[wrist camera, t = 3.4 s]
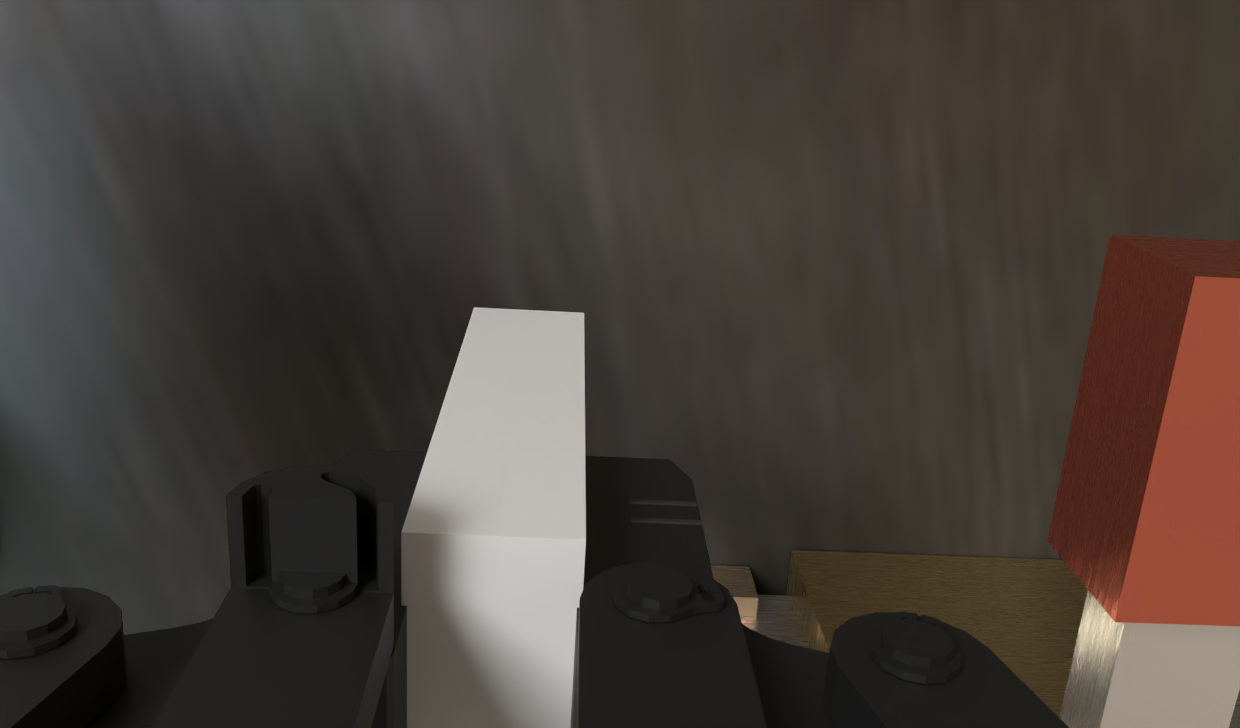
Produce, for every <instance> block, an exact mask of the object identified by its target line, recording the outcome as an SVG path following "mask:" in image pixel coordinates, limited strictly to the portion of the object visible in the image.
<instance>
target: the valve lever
mask: <svg viewBox="0 0 1240 728" xmlns="http://www.w3.org/2000/svg"><path fill="white" fill-rule="evenodd" d="M1048 542H1049V543H1050V544H1051V546H1052V547H1053V548H1054V549H1055V550H1056V552H1057V553H1058V554H1059V555H1060V556H1061V558H1062V559H1063V560H1064V561H1065V563H1066V564H1067V565H1068V566H1069V567H1070V569H1071V570H1072V571H1073V572H1074V573H1075V575H1076V576H1077V577H1078V578H1079V579H1080V581H1081V582H1082V583H1083V584H1084V585H1085V587H1086V588H1087V589H1088V591H1087V596H1086V600H1085V605H1084V609H1083V614H1082V618H1081V623H1080V627H1079V632H1078V636H1077V641H1076V645H1075V650H1074V654H1073V659H1072V663H1071V668H1070V672H1069V677H1068V682H1067V686H1066V691H1065V695H1064V700H1063V704H1062V709H1061V713H1060V719H1061V720H1062V721H1063V722H1064V723H1065V724H1066V725H1067V726H1068V727H1069V728H1229V725H1230V722H1231V718H1232V715H1233V711H1234V708H1235V704H1236V700H1237V697H1238V693H1239V690H1240V241H1222V240H1204V239H1185V238H1166V237H1147V236H1128V235H1110V239H1109V244H1108V248H1107V253H1106V258H1105V263H1104V268H1103V273H1102V278H1101V283H1100V287H1099V292H1098V297H1097V302H1096V307H1095V312H1094V317H1093V322H1092V327H1091V331H1090V336H1089V341H1088V346H1087V351H1086V356H1085V361H1084V366H1083V371H1082V375H1081V380H1080V385H1079V390H1078V395H1077V400H1076V405H1075V410H1074V415H1073V419H1072V424H1071V429H1070V434H1069V439H1068V444H1067V449H1066V454H1065V458H1064V463H1063V468H1062V473H1061V478H1060V483H1059V488H1058V493H1057V498H1056V502H1055V507H1054V512H1053V517H1052V522H1051V527H1050V532H1049V537H1048Z"/></svg>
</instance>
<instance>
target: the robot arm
mask: <svg viewBox="0 0 1240 728" xmlns="http://www.w3.org/2000/svg"><path fill="white" fill-rule="evenodd" d="M226 503H227V520H228V538H229V555H230V573H231V589H230V590H229V592H228V594H227V596H226V597H225V599H224V601H223V603H222V605H221V606H220V608H219V610H218V612H217V613H216V615H215V617H214V618H213V619H210V620H207V621H204V622H201V623H196V624H191V625H187V626H182V627H177V628H171V629H164V630H157V631H150V632H143V633H136V634H129V635H124V633H123V623H122V612H121V609H120V608H119V607H118V606H117V605H116V604H115V603H114V602H113V601H112V600H111V599H110V598H109V597H108V596H106V595H103V594H100V593H96V592H93V591H90V590H87V589H84V588H69V587H58V586H37V588H36V589H32V587H29V588H23V589H17V590H14V591H11V592H9V593H8V594H5V595H1V596H0V728H1069V727H1068V726H1067V725H1066V724H1065V723H1064V722H1063V721H1062V720H1061V719H1060V718H1059V717H1058V716H1057V715H1056V714H1055V713H1054V712H1053V711H1052V710H1051V709H1050V708H1049V707H1048V706H1047V705H1046V704H1045V703H1044V702H1043V701H1042V700H1041V699H1040V698H1039V697H1038V696H1037V695H1036V694H1035V693H1034V692H1033V691H1032V690H1031V689H1030V688H1029V687H1028V686H1027V685H1026V684H1025V683H1024V682H1023V681H1022V680H1021V679H1020V678H1019V677H1017V676H1016V675H1015V674H1014V673H1013V672H1012V671H1011V670H1010V669H1009V668H1008V667H1007V666H1006V665H1005V664H1004V663H1003V662H1002V661H1001V660H1000V659H999V658H998V657H997V656H996V655H995V654H994V653H993V652H992V651H991V650H990V649H989V648H988V647H987V646H985V645H984V644H982V643H981V642H980V641H978V640H977V639H976V638H974V637H973V636H971V635H970V634H969V633H967V632H966V631H963V630H961V629H959V628H956V627H954V626H952V625H949V624H947V623H944V622H942V621H940V620H939V619H937V618H934V617H930V616H926V615H922V614H921V616H919V615H917V613H910V612H897V613H896V612H874V613H870V614H866V615H862V616H858V617H854V618H850V619H849V620H848V621H846V622H845V623H844V624H842V625H841V626H840V627H838V628H837V629H835V631H834V635H833V638H832V642H831V645H830V651H829V653H827V652H823V651H818V650H814V649H809V648H805V647H801V646H796V645H792V644H789V643H785V642H782V641H779V640H775V639H772V638H769V637H767V636H765V635H762V634H760V633H758V632H756V631H754V630H751V629H749V628H748V627H746V626H745V625H743V624H742V622H741V618H740V614H739V610H738V606H737V603H736V602H735V600H734V598H733V597H732V595H731V593H730V592H729V590H728V589H727V588H726V587H724V586H723V585H722V584H720V583H719V582H717V581H716V580H714V578H713V573H712V569H711V564H710V560H709V555H708V550H707V546H706V541H705V537H704V532H703V528H702V525H701V519H700V514H699V509H698V506H697V500H696V496H695V491H694V487H693V482H692V479H691V478H690V477H688V476H687V475H686V474H685V473H684V472H683V471H682V470H681V469H680V468H678V467H677V466H676V465H675V464H674V463H673V462H672V461H671V460H668V459H644V458H621V457H597V456H585V357H584V313H579V312H558V311H538V310H517V309H497V308H476V307H474V309H473V312H472V315H471V318H470V321H469V324H468V328H467V331H466V334H465V337H464V340H463V343H462V346H461V349H460V352H459V355H458V358H457V362H456V365H455V368H454V371H453V374H452V377H451V380H450V383H449V386H448V389H447V393H446V396H445V399H444V402H443V405H442V408H441V411H440V414H439V417H438V420H437V424H436V427H435V430H434V433H433V436H432V439H431V442H430V445H429V448H428V451H427V453H424V452H400V451H377V450H354V451H353V452H351V453H350V454H348V455H346V456H345V457H343V458H342V459H340V460H339V461H337V462H336V463H334V464H332V465H331V466H329V465H322V466H296V467H291V468H286V469H281V470H276V471H271V472H266V473H264V474H261V475H259V476H256V477H254V478H251V479H249V480H247V481H244V482H242V483H240V484H239V485H238V486H237V487H236V488H235V489H233V490H232V491H231V492H230V493H229V494H228V495H227V496H226Z"/></svg>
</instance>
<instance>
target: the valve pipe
mask: <svg viewBox="0 0 1240 728" xmlns="http://www.w3.org/2000/svg"><path fill="white" fill-rule="evenodd" d="M711 569H712V573H713V578H714V580H716V581H717V582H719V583H720V584H722V585H723V586H724V587H726V588H727V589H728V590H729V592H730V593H731V595H732V597H733V598H734V600H735V602H736V603H737V606H738V610H739V614H740V618H741V622H742V624H743V625H745V626H746V627H748V628H749V629H751V630H754V631H756V632H758V633H760V634H762V635H765V636H767V637H769V638H772V639H775V640H779V641H782V642H785V643H789V644H792V645H796V646H801V647H805V648H809V649H814V650H818V651H823V652H827V653H829V651H830V645H831V642H832V638H833V635H834V631H835V629H837V628H838V627H840V626H841V625H842V624H844V623H845V622H846V621H848V620H849V619H850V618H854V617H858V616H862V615H866V614H870V613H874V612H896V613H897V612H910V613H917V615H919V616H921V614H922V615H926V616H930V617H934V618H937V619H939V620H940V621H942V622H944V623H947V624H949V625H952V626H954V627H956V628H959V629H961V630H963V631H966V632H967V633H969V634H970V635H971V636H973V637H974V638H976V639H977V640H978V641H980V642H981V643H982V644H984V645H985V646H987V647H988V648H989V649H990V650H991V651H992V652H993V653H994V654H995V655H996V656H997V657H998V658H999V659H1000V660H1001V661H1002V662H1003V663H1004V664H1005V665H1006V666H1007V667H1008V668H1009V669H1010V670H1011V671H1012V672H1013V673H1014V674H1015V675H1016V676H1017V677H1019V678H1020V679H1021V680H1022V681H1023V682H1024V683H1025V684H1026V685H1027V686H1028V687H1029V688H1030V689H1031V690H1032V691H1033V692H1034V693H1035V694H1036V695H1037V696H1038V697H1039V698H1040V699H1041V700H1042V701H1043V702H1044V703H1045V704H1046V705H1047V706H1048V707H1049V708H1050V709H1051V710H1052V711H1053V712H1054V713H1055V714H1056V715H1057V716H1058V717H1059V718H1060V713H1061V709H1062V704H1063V700H1064V695H1065V691H1066V686H1067V682H1068V677H1069V672H1070V668H1071V663H1072V659H1073V654H1074V650H1075V645H1076V641H1077V636H1078V632H1079V627H1080V623H1081V618H1082V614H1083V609H1084V605H1085V600H1086V596H1087V591H1088V589H1087V588H1086V587H1085V585H1084V584H1083V583H1082V582H1081V581H1080V579H1079V578H1078V577H1077V576H1076V575H1075V573H1074V572H1073V571H1072V570H1071V569H1070V567H1069V566H1068V565H1067V564H1066V563H1065V561H1064V560H1050V559H1023V558H996V557H969V556H942V555H915V554H888V553H861V552H834V551H807V550H791V558H790V566H789V574H788V582H787V590H786V596H776V595H757V591H756V588H755V584H754V581H753V577H752V574H751V570H750V567H749V566H724V565H711ZM1229 728H1240V690H1239V693H1238V697H1237V700H1236V704H1235V708H1234V711H1233V715H1232V718H1231V722H1230V725H1229Z"/></svg>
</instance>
